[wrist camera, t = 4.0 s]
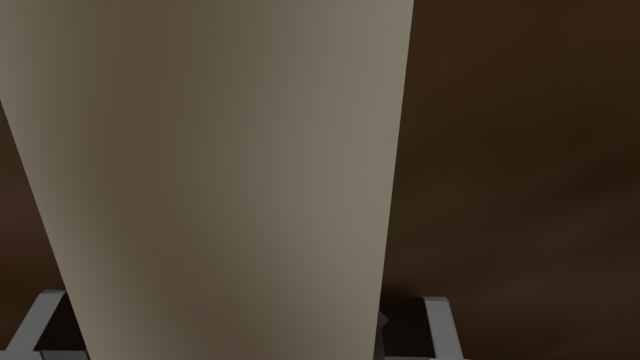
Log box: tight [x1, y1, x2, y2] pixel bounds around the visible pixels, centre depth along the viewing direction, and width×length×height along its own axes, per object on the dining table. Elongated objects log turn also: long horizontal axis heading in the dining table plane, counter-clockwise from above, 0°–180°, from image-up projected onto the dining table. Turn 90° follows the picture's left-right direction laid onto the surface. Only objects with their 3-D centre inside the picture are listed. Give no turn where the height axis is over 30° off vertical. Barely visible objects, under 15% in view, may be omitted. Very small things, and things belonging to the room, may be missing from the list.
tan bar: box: [0, 0, 414, 360], centre depth 12 cm, size 5×16×4 cm, turn 179°
